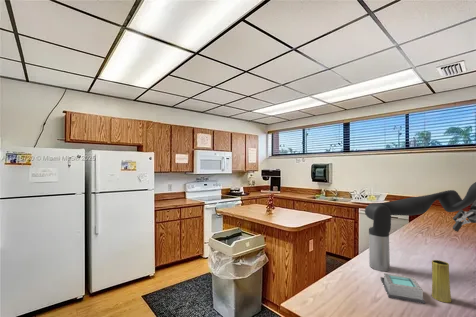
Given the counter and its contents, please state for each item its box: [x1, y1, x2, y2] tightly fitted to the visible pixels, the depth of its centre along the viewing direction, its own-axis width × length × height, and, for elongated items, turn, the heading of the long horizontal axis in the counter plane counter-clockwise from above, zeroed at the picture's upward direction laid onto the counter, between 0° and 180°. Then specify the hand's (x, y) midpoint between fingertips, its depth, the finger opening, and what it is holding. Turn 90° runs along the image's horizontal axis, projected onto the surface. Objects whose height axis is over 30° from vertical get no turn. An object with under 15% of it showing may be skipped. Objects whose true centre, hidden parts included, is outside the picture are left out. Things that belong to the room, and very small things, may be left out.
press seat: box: [390, 278, 414, 287], centre depth 99 cm, size 7×7×1 cm
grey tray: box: [380, 273, 426, 305], centre depth 101 cm, size 17×12×5 cm
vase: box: [431, 259, 453, 304], centre depth 95 cm, size 6×6×14 cm
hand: (465, 232), depth 97 cm, fingers open, 8 cm apart
